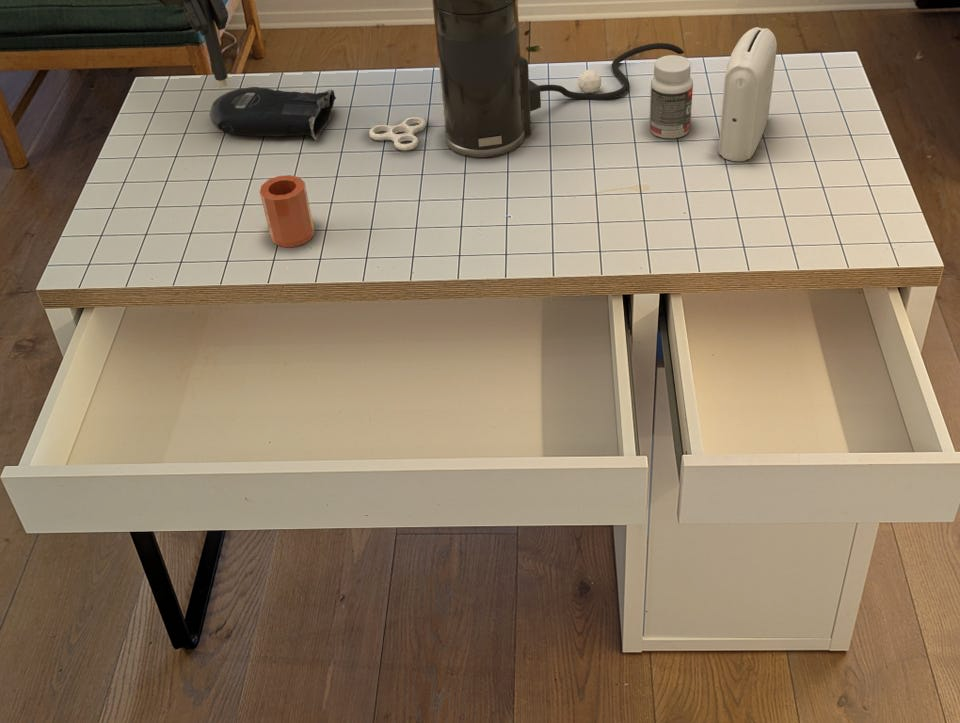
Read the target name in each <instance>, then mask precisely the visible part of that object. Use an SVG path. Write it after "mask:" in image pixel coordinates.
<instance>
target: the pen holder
mask: <svg viewBox="0 0 960 723" xmlns="http://www.w3.org/2000/svg"><path fill="white" fill-rule="evenodd" d="M259 196H260V200H261V203H262V208H263V212H264V216H265V220H266V224H267V228H268V232H269V235H270V238H271V241H272V242H273V243H274V244H275V245H277V246H278V247H283V248H294V247H298V246H302V245H304V244H306V243H308V242H309V241H311V240H312V238H313V237H314V235H315V228H314V226H315V225H314V221H313V220H314V219H313V216H312V210H311V207H310V201H309V196H308V191H307V186H306V183H305V181H304V180H303V179H302V178H301V177H299V176H296V175H290V174H286V175H278V176H275V177H271V178H269V179H267V180H266V181H265V182H264V183H263V184H262V185H261V186H260V190H259Z"/></svg>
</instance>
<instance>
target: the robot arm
mask: <svg viewBox="0 0 960 723" xmlns="http://www.w3.org/2000/svg"><path fill="white" fill-rule="evenodd" d="M431 1H432V9H433V10H432V11H433V21H434V28H435V29H434V30H435V38H436V48H437V49H436V50H437V58H438V68H439V75H440V87H441V97H442V106H443V117H444V129H445V131H444V135H445V142H446V145H447V146H448V147H449V148H450V150H452V151H454V152H455V153H458V154H460V155H462V156H467V157H473V158H489V157H490V158H491V157H496V156H500V155H503V154H504V155H505V154H507V153H509V152H511V151H513V150H515V149H516V148H518V147H519V146H520V145H521V144H522V143H523V142H524V140H525V138H527V137H529V136H531V135H532V120H531V112H533V111H535V110H539V109H541V108H542V102H541V100H542V98H541V92H557V93H560V94H561V95H563V96H564V97H566V98H569V99H575V100H588V101H589V100H591V101H592V100H593V101H594V100H595V101H600V100H602V101H603V100H611V99H615V98H618V97H620V96H622V95H624V94H625V93H628V91H629V89H630V85H631V84H630V81H629V79H628V77H627V76H626V75H625V74H624V73H623V71H621V70H620V68H619V67H618V65H620V63H621V62H623V61H625V60H626V59H628V58H631V57H633V56H635V55H637V54H641V53H644V52H647V51H648V52H649V51H653V50H654V51H655V50H667V51H671V52H673V53H676V54H678V55H682V54H685V51H684V50H683V49H682V48H681V47H679V46H678V45H675V44H671V43H666V42H655V43H654V42H653V43H648V44H644V45H639V46H637V47H634V48H632V49H630V50H628V51H626V52H623V53H622V54H620V55H618V56H617V57H616V58H614V59H613V60H612V63H611V70H612V72H613V73H614V74H615V76H616V77H617V78H618V79H619V80H620V81H621V83H622V85H623V86H622V87H620V88H618V89H617V90H614V91H610V92H604V93H593V94H590V93H584V92H577V91H570V90H568V89H566V87H564V86H562V85H559V84H539V85H538V84H537V83H535V82H534V81H532V80H530V75H529V74H530V72H529V61H528V59H527V58H525V57H523V55H521V41H520V40H521V39H520V21H519V19H520V18H519V0H431ZM157 2H159V3H160V4H161V5H163V6H165V7H172V6H179V7H181V8H182V9H183V11H184V13H185V16H186V18H187V20H188V22H189V24H190V27H191V28H192V29H193V31H195V33H198V32H199V33H200V35H201V36H203V37H204V35H206V34H208V32H209V25H208V22H207V20H206V18H205V16H204V14H203V12H202V10H201V7H200V5H199V3H198V1H197V0H157ZM209 3H210V7H211V11H212V15H213V19H214V23H215V27H216V29H217V30H218V31H221V30H225V29H226V26H227V23H228V20H229V11H228V9H227V8H226V5H225V3H224V1H223V0H209Z"/></svg>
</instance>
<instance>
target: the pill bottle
mask: <svg viewBox="0 0 960 723" xmlns="http://www.w3.org/2000/svg"><path fill="white" fill-rule="evenodd" d="M693 90H694V80H693V78H692V77H691V61H690V60H689V59H688V58H687V57H684V56H681V55H675V54H673V55H672V54H670V55H669V54H668V55H664V56H661V57H658V58H657V59H656V60H655V61H654V66H653V77H652V78H651V80H650V96H649V98H650V101H649V124H648V125H649V126H648V127H649V131H650V133H651V134H653V135H654V136H656V137H657V138H661V139H678V138H682V137H684V136H685V135H687V134H688V133H689V132H690V130H691V123H692V122H691V120H692V108H693V106H692V104H693Z"/></svg>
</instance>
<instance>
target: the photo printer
mask: <svg viewBox="0 0 960 723" xmlns="http://www.w3.org/2000/svg"><path fill="white" fill-rule="evenodd" d="M777 44H778V41H777V38H776V36H775V34H774V32H772V30H771V29H769V28H761V27H759V26H755V27H753V28H751V29H749V30H748V31H746V32H745V33H744V34H743V35H742V36H741V37H740V38H739V40H738V41H737V42H736V44H735V47H734V48H733V50H732V52H731V55H730V56H729V59H728V62H727V64H726V69H725V73H724V83H723V94H722V105H721V116H720V129H719V138H718V155H719V156H721V157H722V158H723V159H725V160H727V161H731V162H745V161H747V160H750V159H751V158H752V157H753V156H754V154H755V152H756V150H757V148H758V146H759V143H760V142H761V139H762V137H763V134H764V131H765V129H766V126H767V123H768V119H769V114H770V107H771V100H772V91H773V83H774V75H775V67H776V58H777V48H778V45H777Z"/></svg>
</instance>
